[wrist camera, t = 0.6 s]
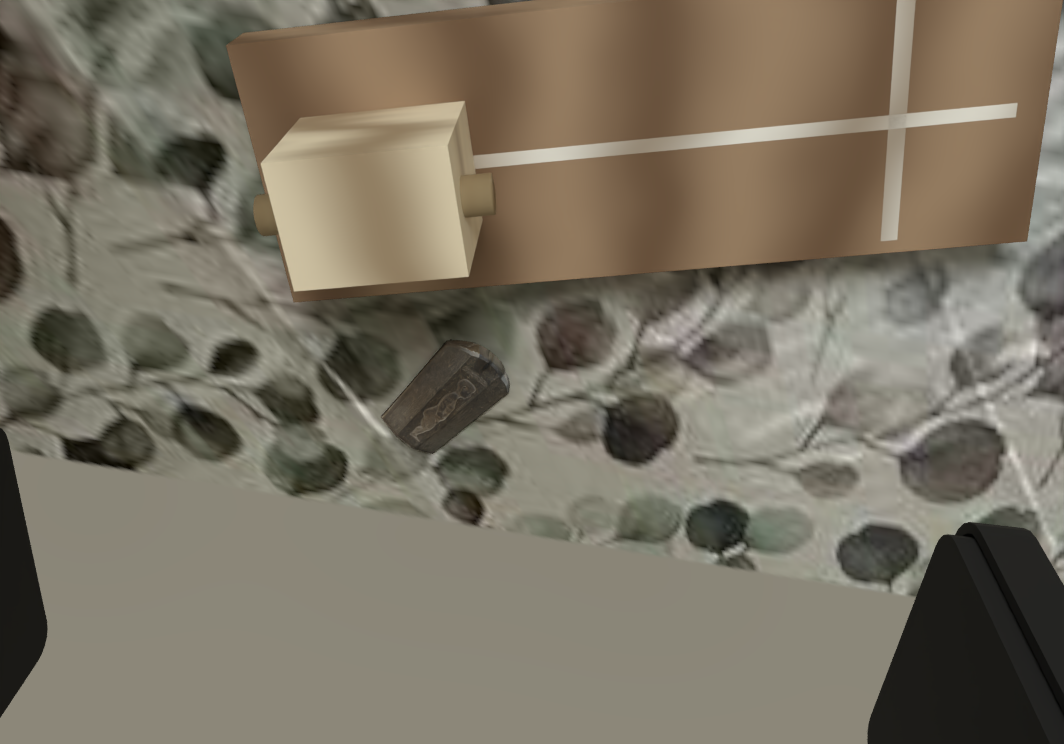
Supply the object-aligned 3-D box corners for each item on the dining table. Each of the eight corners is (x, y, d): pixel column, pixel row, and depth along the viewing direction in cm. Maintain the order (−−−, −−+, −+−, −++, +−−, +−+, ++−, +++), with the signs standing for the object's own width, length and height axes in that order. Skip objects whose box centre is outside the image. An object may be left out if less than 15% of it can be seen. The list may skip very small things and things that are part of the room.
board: (306, 280, 41) (293, 302, 39) (243, 33, 36) (226, 45, 34) (1007, 220, 38) (1027, 241, 36) (1045, -57, 33) (1070, -49, 31)
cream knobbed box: (302, 236, 38) (265, 293, 34) (273, 120, 36) (230, 166, 31) (508, 217, 37) (498, 274, 33) (492, 98, 35) (479, 141, 30)
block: (385, 400, 46) (372, 421, 44) (462, 317, 43) (451, 336, 41) (446, 449, 46) (435, 470, 45) (526, 370, 43) (517, 391, 42)
